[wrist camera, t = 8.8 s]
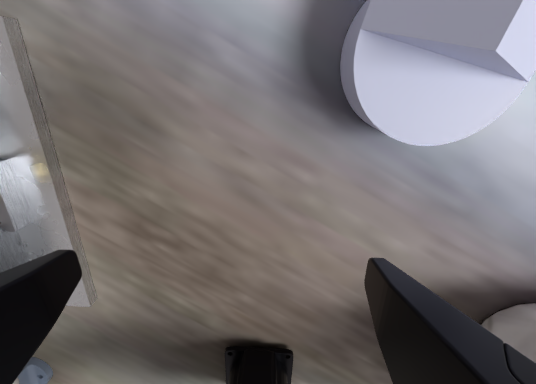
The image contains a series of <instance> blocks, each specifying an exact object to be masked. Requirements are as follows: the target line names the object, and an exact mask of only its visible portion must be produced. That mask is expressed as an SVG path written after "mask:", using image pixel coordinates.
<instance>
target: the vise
mask: <svg viewBox="0 0 536 384" xmlns="http://www.w3.org/2000/svg"><path fill="white" fill-rule="evenodd" d="M52 376H53V371H52V369H51V367H50V366H49V365H48V364H47V363H46V362H44V361H42V360H40V359H38V358H35V357H31V359H30V360H29V362H28V363H27V364H26V366H25V367H24V369H23V370H22V372H21V373H20V374H19V376H18V377H17V379H16V380H15V381H14V383H13V384H47V383H48V382H49V380H50V379H51V377H52Z"/></svg>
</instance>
